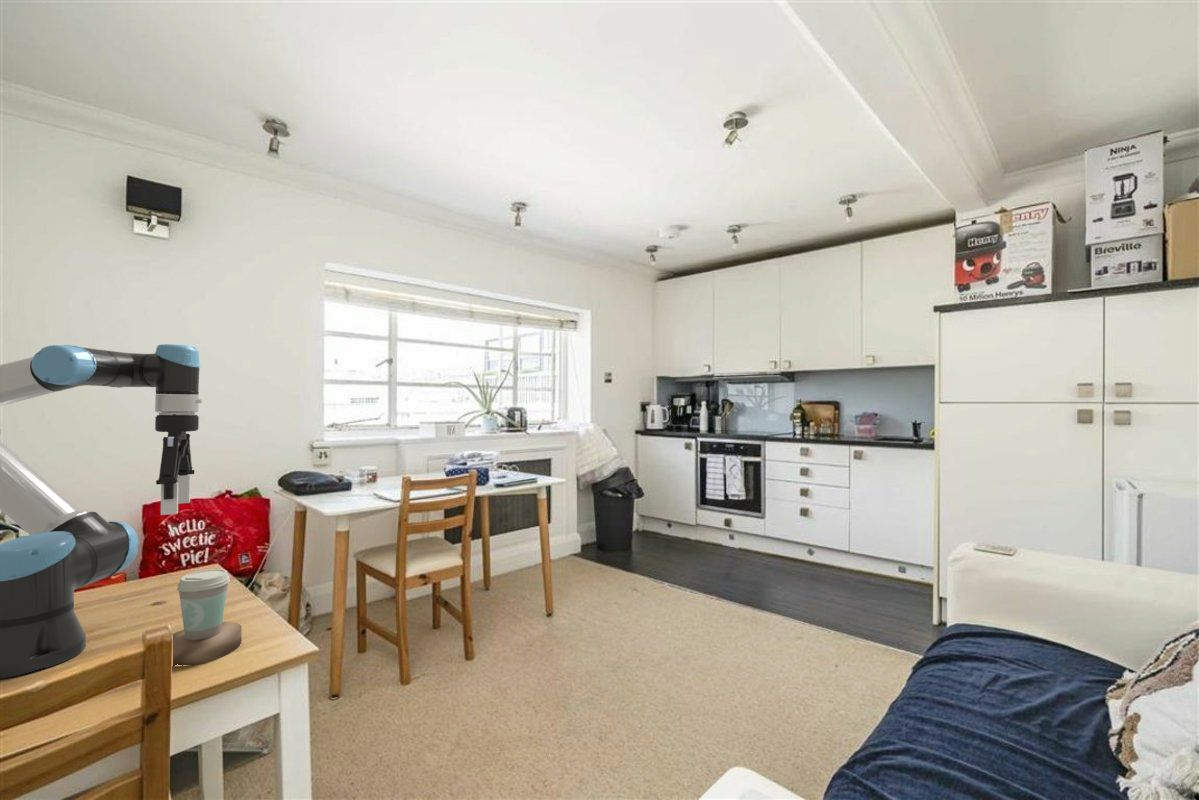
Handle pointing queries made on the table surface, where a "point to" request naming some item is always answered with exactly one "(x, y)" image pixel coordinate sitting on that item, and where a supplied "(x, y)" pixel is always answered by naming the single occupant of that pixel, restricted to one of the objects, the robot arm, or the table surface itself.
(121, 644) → the table surface
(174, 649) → the walnut stand
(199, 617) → the coffee cup
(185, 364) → the robot arm
